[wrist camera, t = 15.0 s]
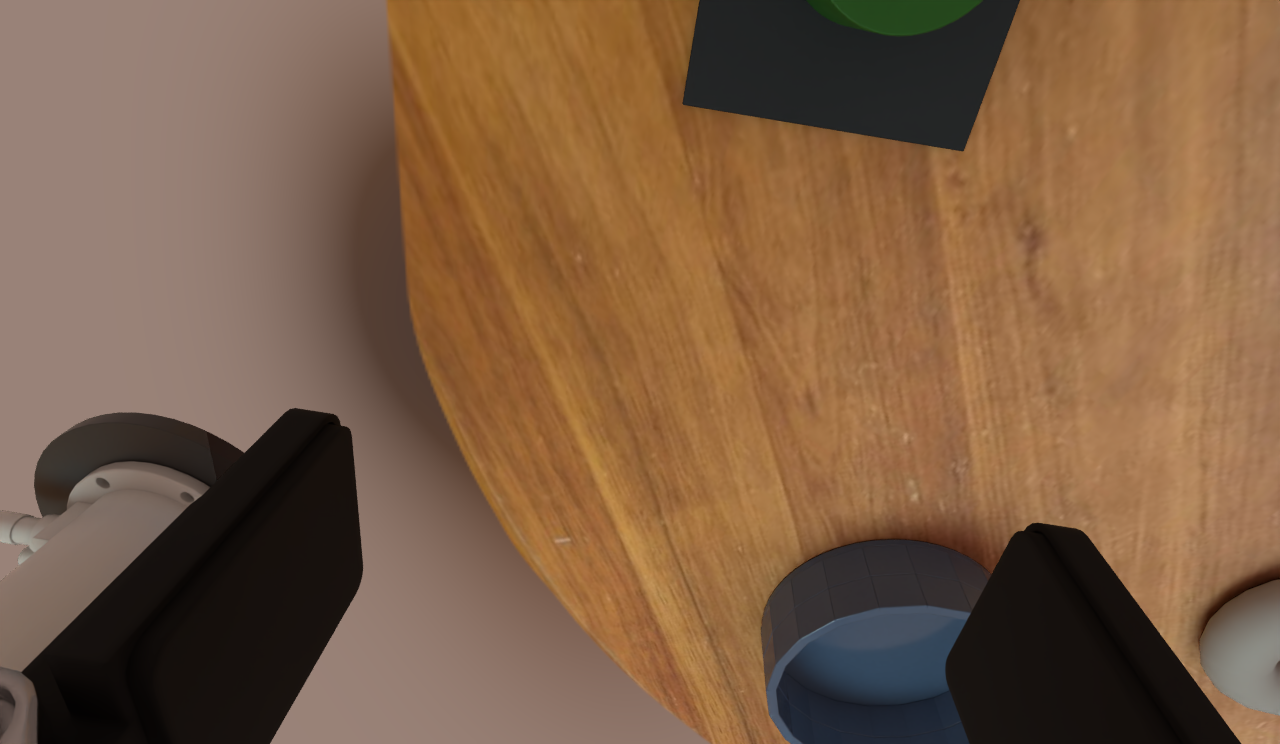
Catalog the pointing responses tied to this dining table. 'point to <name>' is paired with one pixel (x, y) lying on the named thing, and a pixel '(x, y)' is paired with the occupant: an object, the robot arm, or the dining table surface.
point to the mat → (845, 70)
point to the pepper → (894, 14)
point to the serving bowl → (869, 644)
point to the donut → (1246, 648)
